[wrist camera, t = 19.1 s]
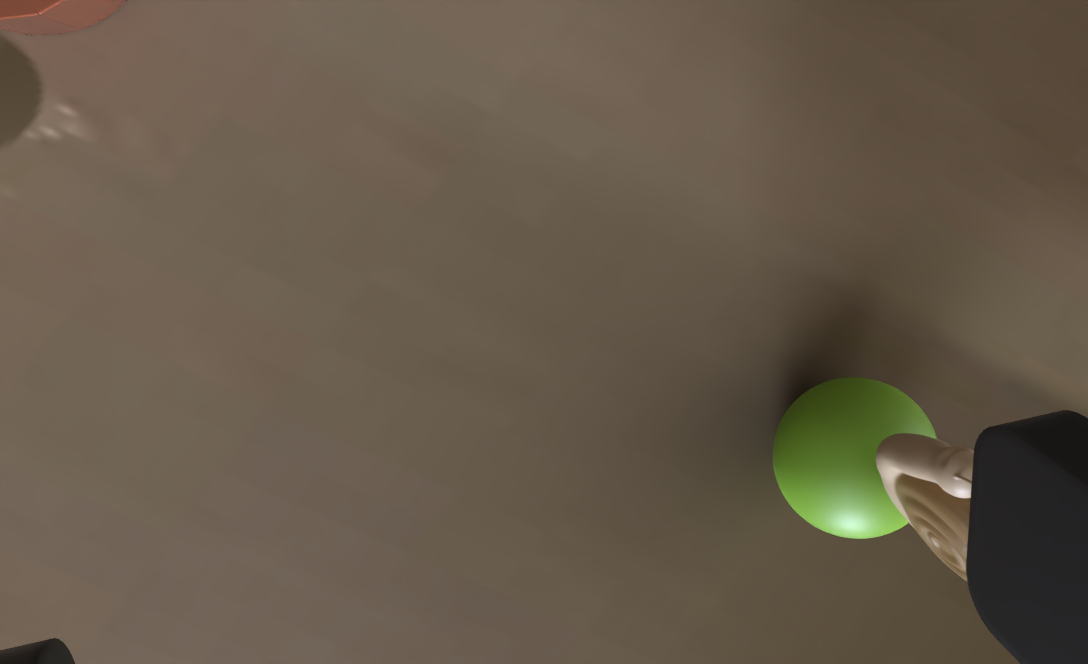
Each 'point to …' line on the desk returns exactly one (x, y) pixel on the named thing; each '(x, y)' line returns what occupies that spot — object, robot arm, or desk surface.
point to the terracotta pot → (53, 15)
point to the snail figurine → (873, 467)
